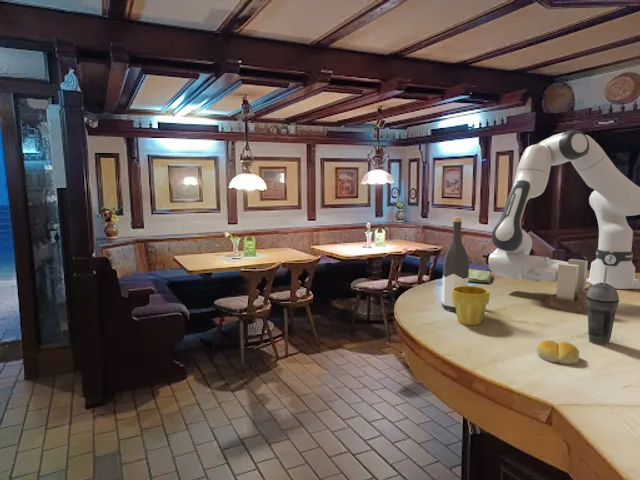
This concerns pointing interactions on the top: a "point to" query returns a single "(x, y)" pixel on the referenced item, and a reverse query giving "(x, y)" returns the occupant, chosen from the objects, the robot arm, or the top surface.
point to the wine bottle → (454, 267)
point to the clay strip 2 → (580, 273)
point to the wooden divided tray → (569, 302)
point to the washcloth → (479, 276)
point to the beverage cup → (601, 311)
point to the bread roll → (558, 352)
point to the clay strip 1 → (567, 281)
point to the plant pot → (470, 303)
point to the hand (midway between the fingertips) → (580, 274)
